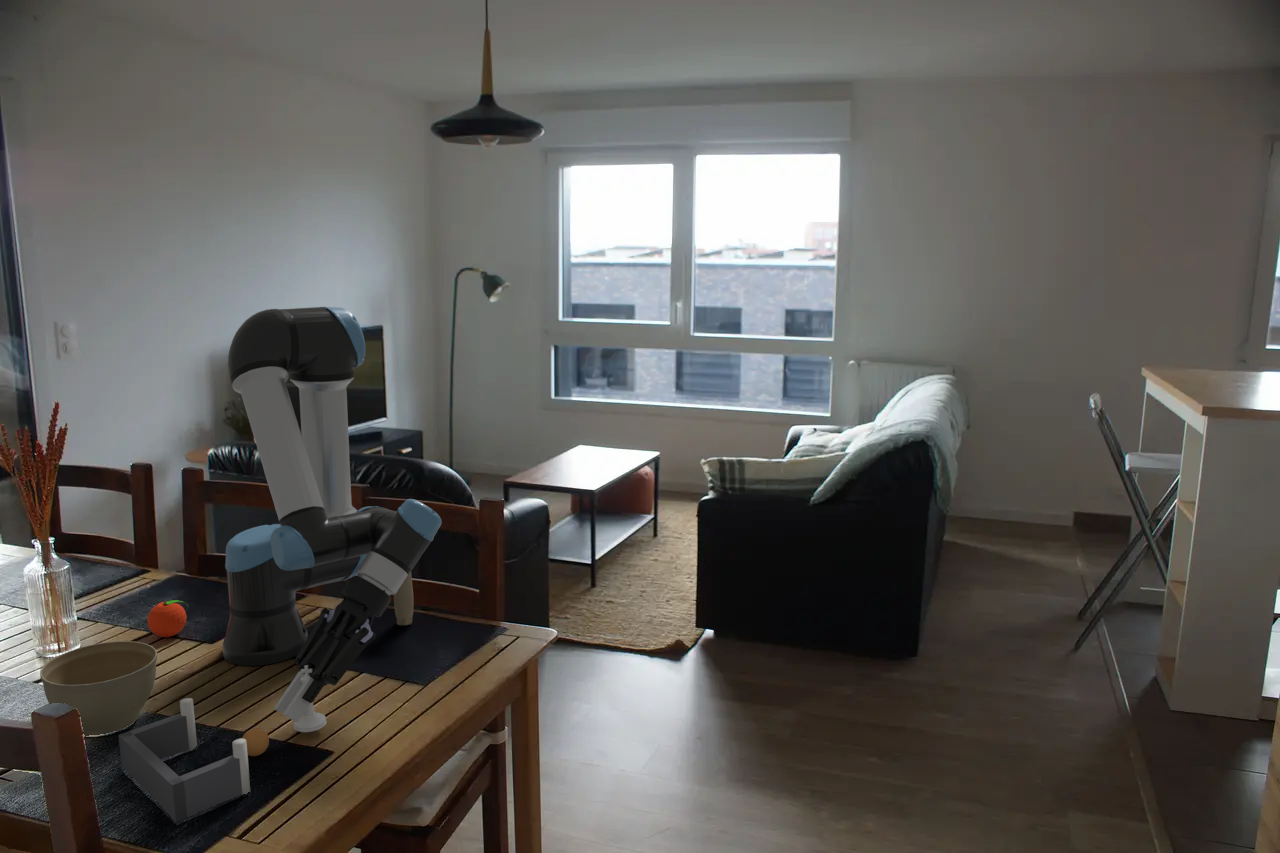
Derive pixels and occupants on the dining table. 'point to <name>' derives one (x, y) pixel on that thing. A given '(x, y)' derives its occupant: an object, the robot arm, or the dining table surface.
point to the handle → (404, 602)
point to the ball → (256, 741)
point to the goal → (190, 789)
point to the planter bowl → (102, 683)
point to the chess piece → (309, 712)
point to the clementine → (167, 618)
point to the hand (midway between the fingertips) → (285, 715)
